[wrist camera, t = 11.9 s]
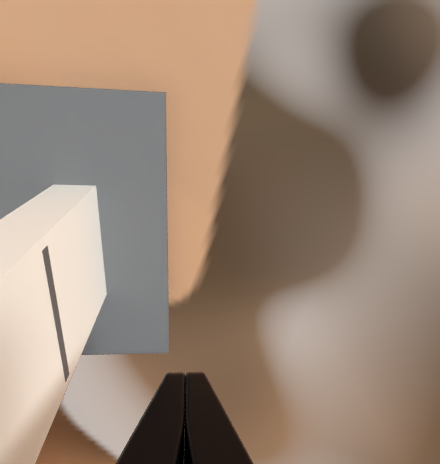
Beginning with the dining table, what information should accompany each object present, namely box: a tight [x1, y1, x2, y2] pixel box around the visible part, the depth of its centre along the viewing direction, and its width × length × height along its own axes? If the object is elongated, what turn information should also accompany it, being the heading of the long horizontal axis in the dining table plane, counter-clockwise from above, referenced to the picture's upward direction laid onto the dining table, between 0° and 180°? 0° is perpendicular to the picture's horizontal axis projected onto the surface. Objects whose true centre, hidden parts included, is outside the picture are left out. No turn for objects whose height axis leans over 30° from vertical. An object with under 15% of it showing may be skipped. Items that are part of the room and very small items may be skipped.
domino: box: [0, 185, 107, 464], centre depth 9 cm, size 5×2×10 cm, turn 177°
